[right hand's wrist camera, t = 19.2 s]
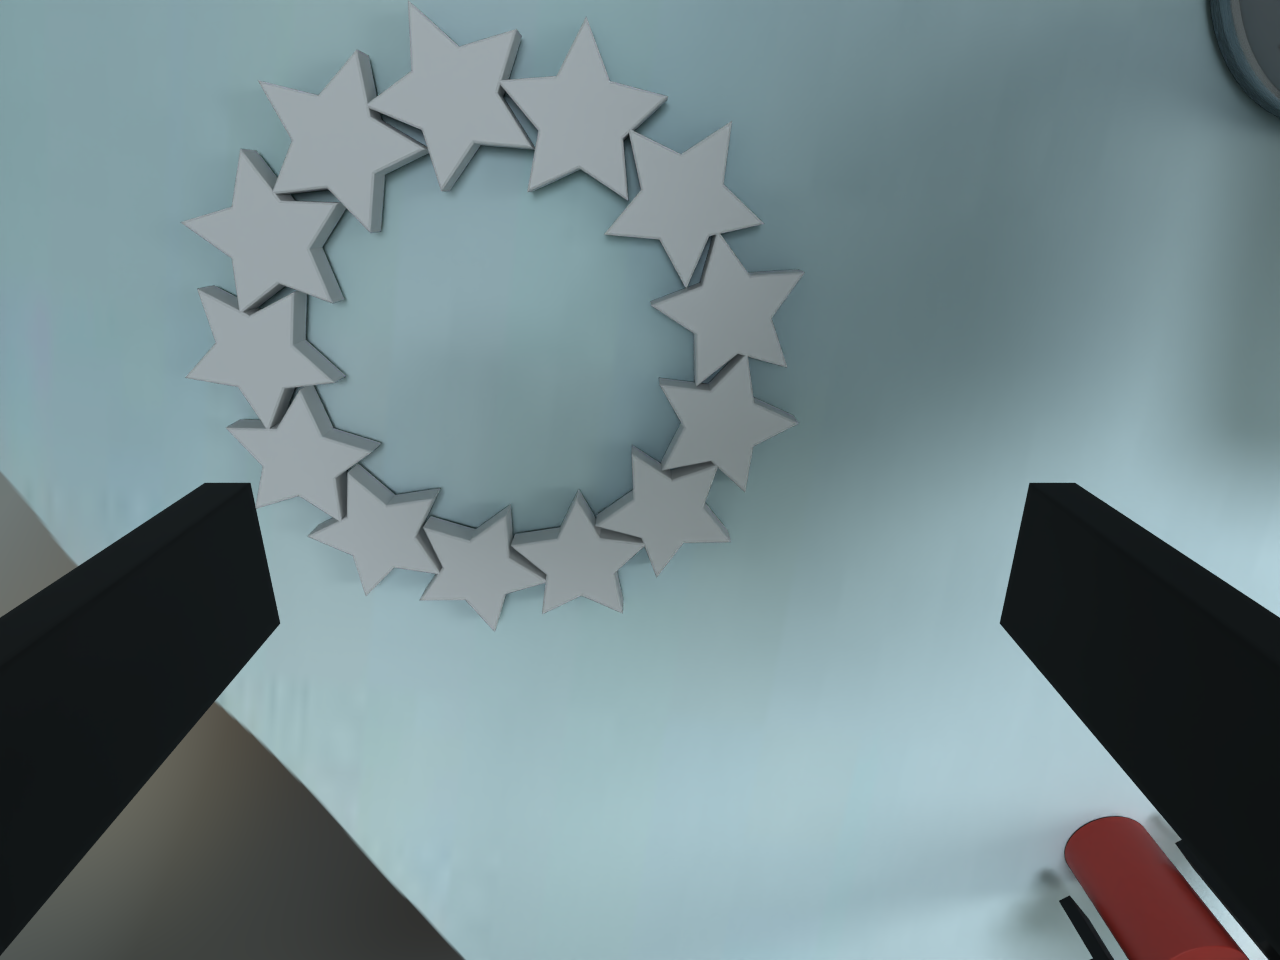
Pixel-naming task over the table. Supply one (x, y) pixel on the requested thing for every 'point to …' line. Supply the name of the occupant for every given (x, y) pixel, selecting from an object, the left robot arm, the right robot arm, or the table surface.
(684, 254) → the decorative wreath
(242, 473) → the table surface
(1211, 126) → the table surface
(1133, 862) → the canister
